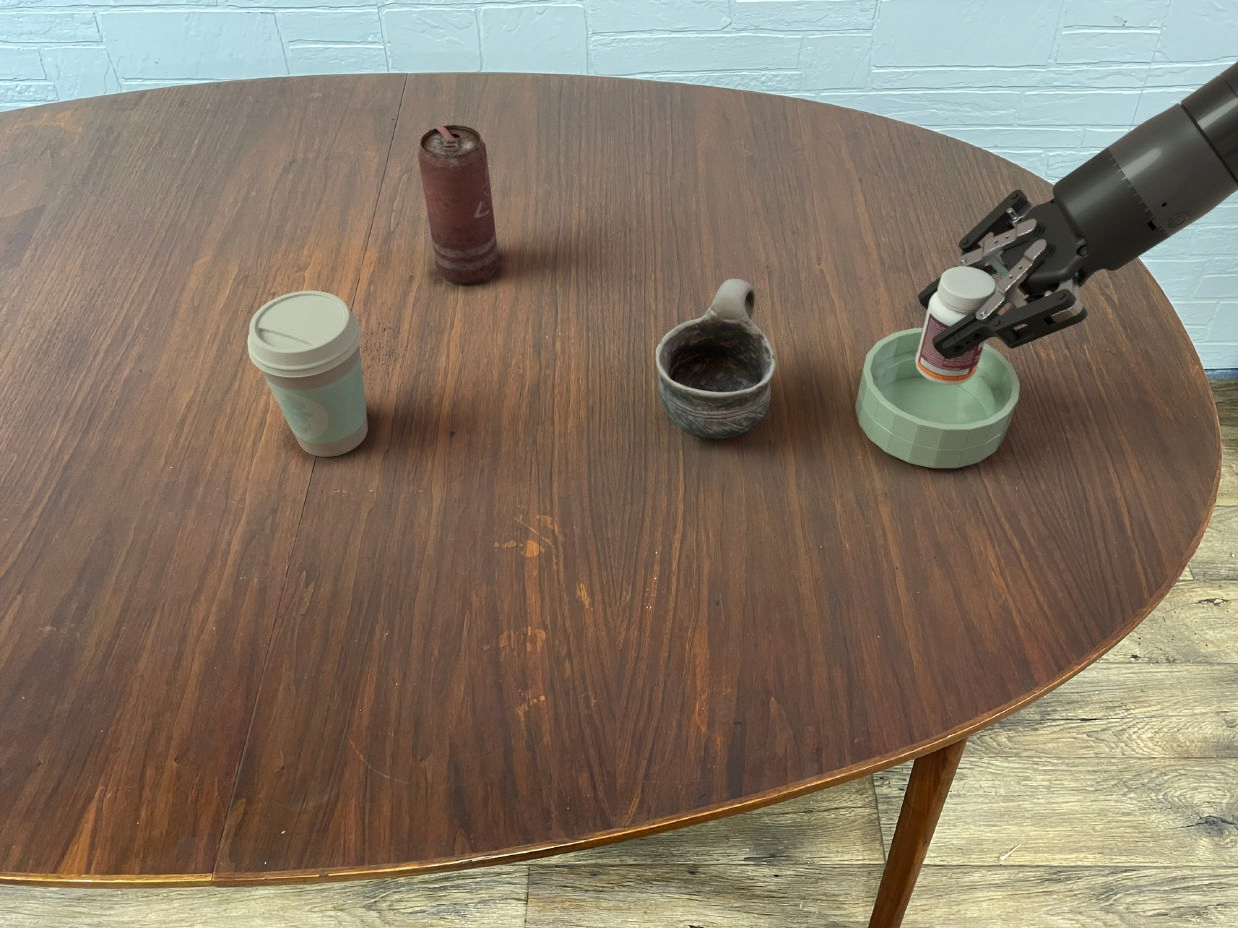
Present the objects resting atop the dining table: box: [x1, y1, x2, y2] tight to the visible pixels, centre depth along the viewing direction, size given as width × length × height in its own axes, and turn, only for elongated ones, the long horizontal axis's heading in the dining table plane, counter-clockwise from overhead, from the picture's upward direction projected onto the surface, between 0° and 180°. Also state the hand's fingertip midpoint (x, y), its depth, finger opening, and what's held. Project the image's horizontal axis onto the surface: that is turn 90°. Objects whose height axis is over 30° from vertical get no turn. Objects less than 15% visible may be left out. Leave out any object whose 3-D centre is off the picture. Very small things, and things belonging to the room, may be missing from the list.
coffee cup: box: [247, 290, 369, 458], centre depth 83 cm, size 9×8×12 cm
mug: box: [655, 278, 776, 440], centre depth 85 cm, size 10×12×10 cm
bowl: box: [854, 327, 1021, 469], centre depth 86 cm, size 12×12×5 cm
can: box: [417, 124, 500, 286], centre depth 98 cm, size 6×6×14 cm
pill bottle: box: [915, 266, 997, 385], centre depth 80 cm, size 5×5×8 cm
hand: (932, 327), depth 80 cm, fingers closed on pill bottle, 4 cm apart
